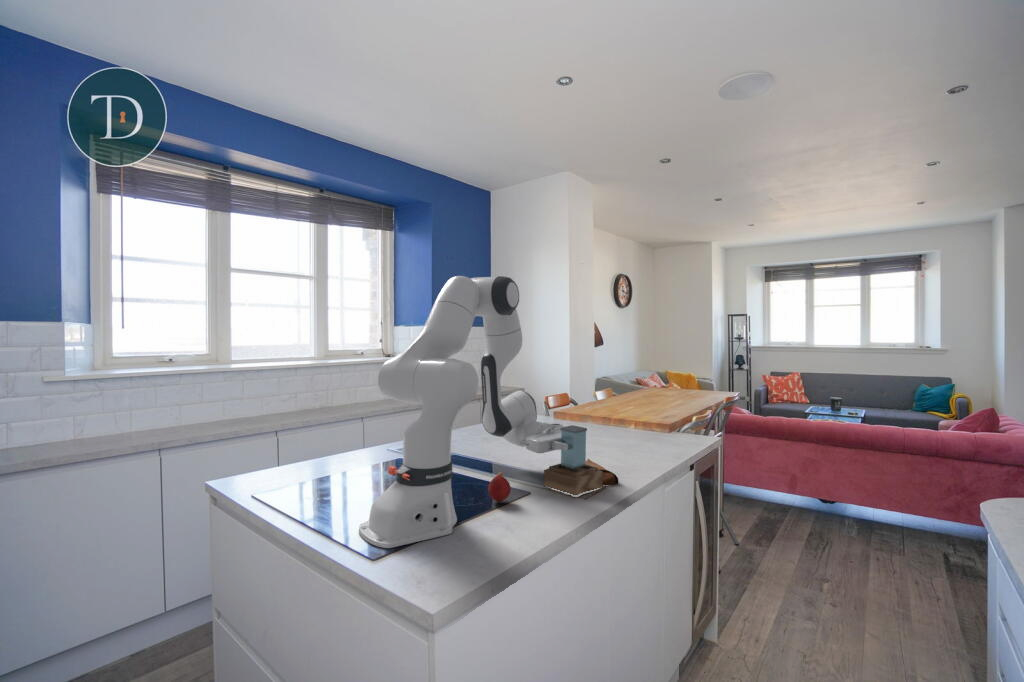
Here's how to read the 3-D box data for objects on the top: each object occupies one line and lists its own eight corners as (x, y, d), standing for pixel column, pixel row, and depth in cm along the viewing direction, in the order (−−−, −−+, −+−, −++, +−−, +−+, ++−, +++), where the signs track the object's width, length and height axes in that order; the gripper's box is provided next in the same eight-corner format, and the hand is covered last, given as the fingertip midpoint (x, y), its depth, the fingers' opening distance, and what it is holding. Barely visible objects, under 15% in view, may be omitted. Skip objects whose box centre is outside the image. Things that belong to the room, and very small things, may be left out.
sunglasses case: (566, 470, 154) (576, 451, 155) (582, 479, 157) (592, 461, 157) (594, 487, 137) (604, 467, 138) (612, 497, 140) (622, 477, 141)
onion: (496, 508, 121) (496, 477, 121) (484, 501, 125) (484, 472, 125) (514, 503, 124) (514, 473, 124) (502, 497, 129) (502, 468, 129)
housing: (574, 469, 133) (574, 430, 133) (560, 465, 137) (560, 427, 137) (586, 465, 137) (587, 428, 137) (572, 461, 141) (572, 425, 141)
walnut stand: (575, 498, 129) (575, 476, 129) (543, 486, 138) (544, 466, 138) (602, 488, 137) (602, 467, 137) (570, 478, 146) (571, 459, 146)
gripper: (517, 431, 139) (551, 440, 129) (563, 422, 153) (597, 429, 143) (516, 452, 140) (551, 463, 129) (562, 442, 153) (597, 450, 143)
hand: (576, 445), depth 136 cm, fingers closed on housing, 5 cm apart
